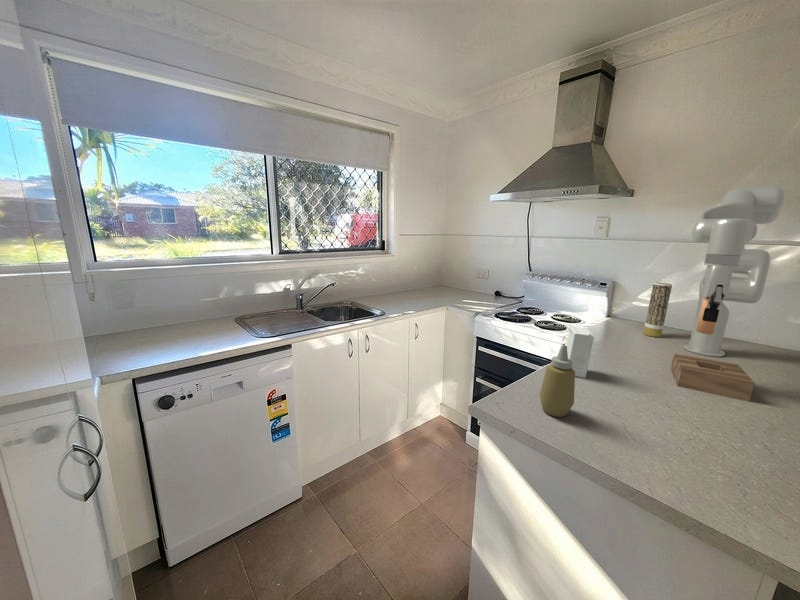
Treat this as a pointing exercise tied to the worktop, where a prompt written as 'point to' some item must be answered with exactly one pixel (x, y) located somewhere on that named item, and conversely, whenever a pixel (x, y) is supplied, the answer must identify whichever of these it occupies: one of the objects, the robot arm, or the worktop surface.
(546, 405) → the squeeze bottle
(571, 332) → the skincare box
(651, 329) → the brown textured cylinder
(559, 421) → the worktop surface
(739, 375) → the socket block
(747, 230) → the robot arm
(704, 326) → the peg
